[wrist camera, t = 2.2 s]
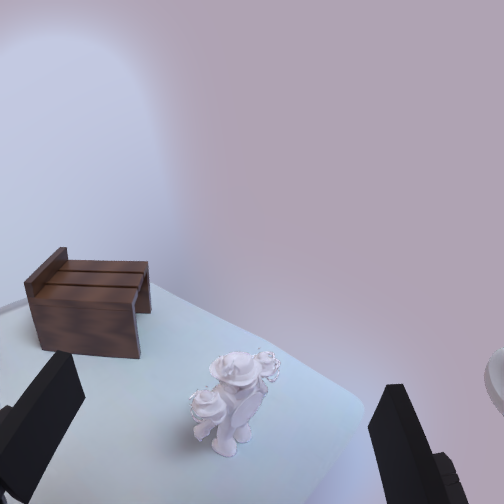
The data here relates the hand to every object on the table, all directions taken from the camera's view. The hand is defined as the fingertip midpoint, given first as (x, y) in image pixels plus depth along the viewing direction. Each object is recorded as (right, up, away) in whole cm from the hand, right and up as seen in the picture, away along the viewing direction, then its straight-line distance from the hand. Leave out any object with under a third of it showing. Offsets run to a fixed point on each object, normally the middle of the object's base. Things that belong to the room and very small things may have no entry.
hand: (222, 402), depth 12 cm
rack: (-20, -5, +29) cm, 36 cm away
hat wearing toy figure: (-1, -12, +15) cm, 19 cm away
